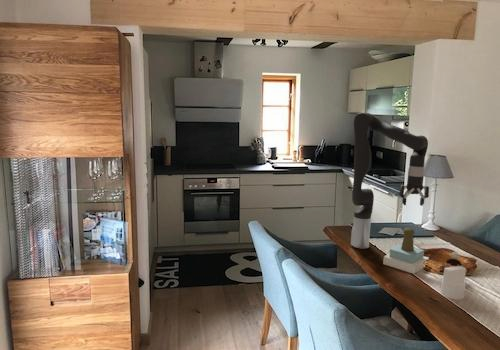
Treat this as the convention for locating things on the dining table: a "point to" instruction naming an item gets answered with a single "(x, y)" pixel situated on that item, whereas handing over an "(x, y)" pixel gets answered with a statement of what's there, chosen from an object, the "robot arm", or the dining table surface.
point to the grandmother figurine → (453, 260)
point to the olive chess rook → (408, 240)
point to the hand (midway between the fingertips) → (412, 205)
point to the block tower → (405, 259)
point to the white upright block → (453, 282)
